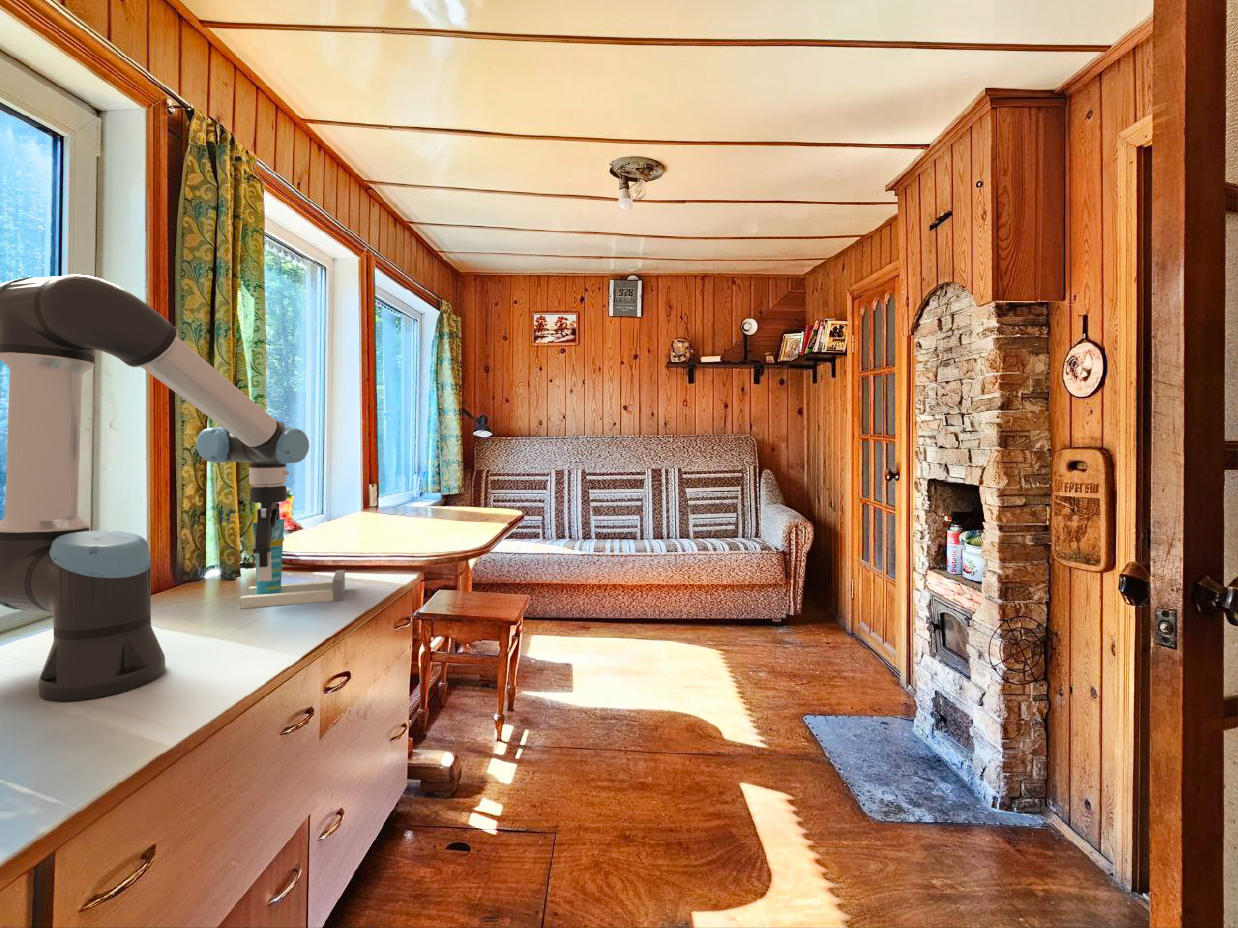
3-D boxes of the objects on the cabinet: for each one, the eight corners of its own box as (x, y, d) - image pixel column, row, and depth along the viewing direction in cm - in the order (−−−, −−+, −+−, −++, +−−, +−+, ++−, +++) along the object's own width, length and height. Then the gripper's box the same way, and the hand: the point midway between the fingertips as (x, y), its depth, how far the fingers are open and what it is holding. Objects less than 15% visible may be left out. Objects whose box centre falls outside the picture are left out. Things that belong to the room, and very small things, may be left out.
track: (342, 600, 141) (342, 579, 141) (240, 608, 133) (239, 586, 133) (344, 589, 151) (344, 569, 151) (250, 596, 144) (250, 576, 143)
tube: (261, 605, 136) (260, 523, 135) (247, 602, 138) (246, 521, 137) (290, 597, 143) (289, 519, 142) (276, 595, 145) (276, 517, 144)
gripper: (277, 489, 129) (279, 585, 130) (293, 481, 152) (294, 562, 153) (237, 490, 126) (239, 587, 127) (260, 481, 149) (261, 564, 150)
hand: (269, 574), depth 140 cm, fingers open, 13 cm apart
